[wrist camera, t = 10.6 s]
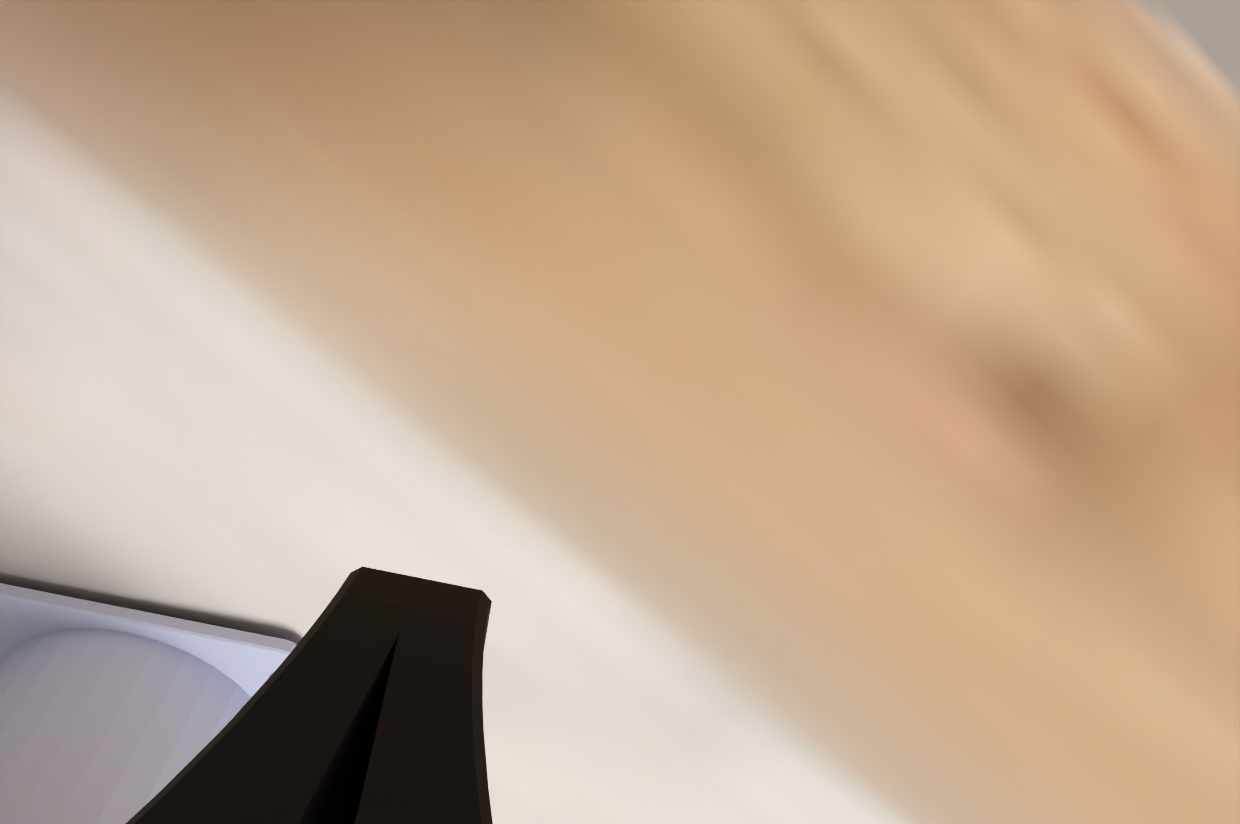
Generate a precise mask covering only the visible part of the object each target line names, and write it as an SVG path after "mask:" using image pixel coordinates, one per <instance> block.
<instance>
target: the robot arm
mask: <svg viewBox="0 0 1240 824" xmlns="http://www.w3.org/2000/svg"><path fill="white" fill-rule="evenodd" d="M491 602H492V601H491V600H490V599H489V598H488V597H487V595H486V594H485V593H484V592H483V591H482V590H477V589H472V588H467V587H462V586H457V585H452V584H447V583H442V582H437V581H432V580H427V579H422V578H417V577H412V576H406V575H401V574H396V573H391V572H386V571H381V570H376V569H371V568H366V567H361V568H359V569H357V570H355V571H353V572H351V573H350V575H349V576H348V578H347V579H346V581H345V582H344V583H343V585H342V586H341V588H340V589H339V591H338V592H337V594H336V595H335V596H334V598H333V599H332V601H331V602H330V603H329V605H328V606H327V607H326V609H325V610H324V611H323V613H322V614H321V615H320V617H319V618H318V619H317V621H316V622H315V623H314V624H313V626H312V627H311V628H310V630H309V631H308V632H307V633H306V635H305V636H304V637H303V638H302V639H301V641H300V642H299V643H298V644H296V643H294V642H292V641H289V640H286V639H281V638H276V637H271V636H266V635H261V634H256V633H251V632H246V631H241V630H236V629H231V628H226V627H220V626H215V625H210V624H205V623H200V622H195V621H190V620H185V619H180V618H175V617H170V616H165V615H160V614H155V613H149V612H144V611H139V610H134V609H129V608H124V607H119V606H114V605H109V604H104V603H99V602H94V601H89V600H84V599H78V598H73V597H68V596H63V595H58V594H53V593H48V592H43V591H38V590H33V589H28V588H23V587H18V586H13V585H7V584H2V583H0V824H493V823H492V816H491V808H490V799H489V791H488V780H487V768H486V756H485V744H484V732H483V710H482V669H483V650H484V644H485V638H486V632H487V626H488V620H489V614H490V608H491Z"/></svg>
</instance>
